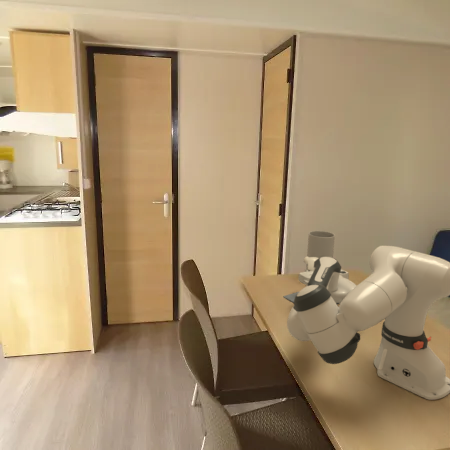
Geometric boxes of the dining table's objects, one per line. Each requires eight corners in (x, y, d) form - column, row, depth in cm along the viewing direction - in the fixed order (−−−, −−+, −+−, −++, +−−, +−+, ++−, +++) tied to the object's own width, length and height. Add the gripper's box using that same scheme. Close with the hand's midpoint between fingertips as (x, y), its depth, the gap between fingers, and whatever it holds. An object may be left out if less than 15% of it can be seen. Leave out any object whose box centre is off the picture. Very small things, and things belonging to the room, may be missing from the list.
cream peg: (320, 289, 163) (322, 260, 159) (310, 291, 161) (312, 261, 158) (309, 282, 171) (311, 254, 167) (300, 284, 169) (302, 255, 166)
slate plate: (340, 303, 163) (341, 302, 163) (312, 313, 153) (312, 311, 153) (311, 289, 178) (311, 288, 178) (283, 297, 168) (283, 296, 168)
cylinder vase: (335, 284, 183) (340, 236, 177) (313, 287, 179) (317, 238, 173) (321, 275, 195) (325, 230, 189) (300, 278, 191) (304, 231, 185)
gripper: (307, 291, 148) (291, 279, 161) (350, 285, 154) (331, 274, 167) (308, 277, 146) (292, 265, 159) (351, 271, 153) (332, 261, 166)
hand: (312, 270), depth 163 cm, fingers closed on cream peg, 5 cm apart
